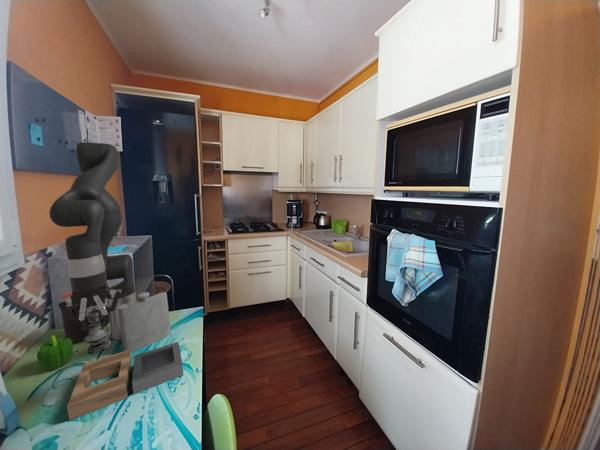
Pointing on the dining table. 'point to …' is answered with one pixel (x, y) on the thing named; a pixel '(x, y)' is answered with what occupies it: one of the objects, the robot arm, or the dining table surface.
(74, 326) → the bottle
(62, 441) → the dining table surface
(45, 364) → the bell pepper
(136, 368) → the seat block
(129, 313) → the hip flask
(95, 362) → the wooden rectangular frame
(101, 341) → the chess piece
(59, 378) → the dining table surface
